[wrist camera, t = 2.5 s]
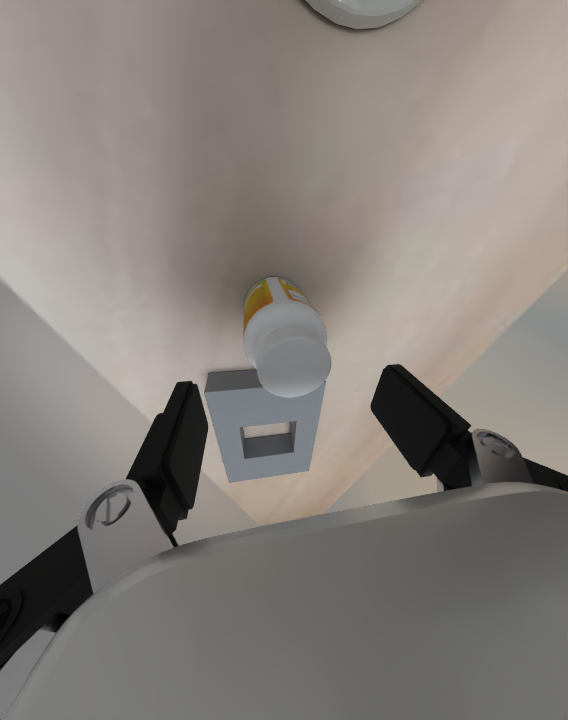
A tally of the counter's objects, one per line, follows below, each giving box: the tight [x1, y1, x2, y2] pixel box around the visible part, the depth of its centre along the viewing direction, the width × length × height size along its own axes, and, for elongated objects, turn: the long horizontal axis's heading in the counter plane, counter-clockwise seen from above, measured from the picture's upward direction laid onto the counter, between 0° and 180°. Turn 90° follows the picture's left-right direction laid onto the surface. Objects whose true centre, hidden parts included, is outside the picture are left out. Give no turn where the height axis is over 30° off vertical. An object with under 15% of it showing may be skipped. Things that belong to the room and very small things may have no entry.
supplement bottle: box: [244, 277, 331, 398], centre depth 14 cm, size 5×5×10 cm
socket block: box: [204, 369, 326, 483], centre depth 26 cm, size 18×12×3 cm, turn 178°
